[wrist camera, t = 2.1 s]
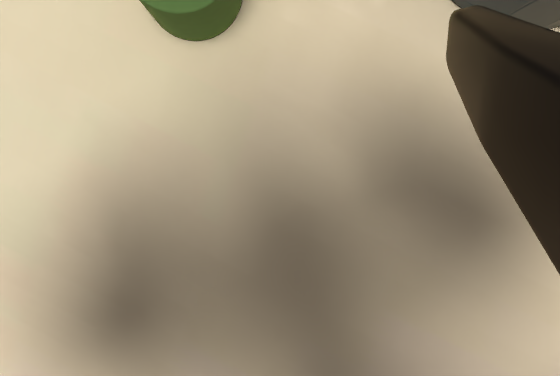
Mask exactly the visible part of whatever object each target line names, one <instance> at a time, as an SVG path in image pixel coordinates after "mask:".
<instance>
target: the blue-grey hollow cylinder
mask: <svg viewBox="0 0 560 376" xmlns="http://www.w3.org/2000/svg"><path fill="white" fill-rule="evenodd" d="M453 1H454V2H455V3H456V4H457V5H458V6H460V7H461V8H466V7H470V6H474V5H481V6H484V7H487V8H490V9H492V10H495V11H498V12H501V13H504V14H507V15H510V16H513V17H515V18H518V19H521V20H524V21H527V22H530V23H533V24H536V25H538V26H541V27H544V28H547V29H550V28H555V27H560V0H453Z"/></svg>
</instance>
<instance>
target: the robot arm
mask: <svg viewBox="0 0 560 376" xmlns="http://www.w3.org/2000/svg"><path fill="white" fill-rule="evenodd" d="M446 60H447V65H448V69H449V71H450V74H451V76H452V78H453V81H454V83H455V85H456V87H457V90H458V92H459V94H460V97H461V99H462V101H463V104H464V106H465V108H466V110H467V113H468V115H469V117H470V120H471V122H472V124H473V127H474V129H475V131H476V133H477V135H478V137H479V140H480V142H481V144H482V145H483V147H484V149H485V151H486V152H487V154H488V156H489V158H490V159H491V161H492V163H493V164H494V166H495V168H496V169H497V171H498V173H499V174H500V176H501V178H502V179H503V181H504V183H505V184H506V186H507V188H508V189H509V191H510V193H511V194H512V196H513V198H514V199H515V201H516V203H517V204H518V206H519V208H520V209H521V211H522V213H523V214H524V216H525V218H526V219H527V221H528V223H529V224H530V226H531V228H532V229H533V231H534V233H535V234H536V236H537V238H538V239H539V241H540V243H541V244H542V246H543V248H544V249H545V251H546V253H547V254H548V256H549V258H550V259H551V261H552V263H553V264H554V266H555V268H556V269H557V271H558V273H559V274H560V33H559V32H556V31H553V30H550V29H547V28H544V27H541V26H538V25H536V24H533V23H530V22H527V21H524V20H521V19H518V18H515V17H513V16H510V15H507V14H504V13H501V12H498V11H495V10H492V9H490V8H487V7H484V6H481V5H474V6H470V7H466V8H463V9H459V10H456V11H454V12H453V13H452V14H451V17H450V20H449V30H448V41H447V52H446Z"/></svg>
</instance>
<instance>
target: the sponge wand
mask: <svg viewBox="0 0 560 376" xmlns="http://www.w3.org/2000/svg"><path fill="white" fill-rule="evenodd" d="M140 1H141V3H142V4H143V5H144V6H145V7H146V9H147V10H148V11H149V12H150V14H151V15H152V16H153V17H154V18H155V20H156V21H157V22H158V23H159V24H160V26H161V27H162V28H164V29H165V30H166V31H167V32H169V33H170V34H172V35H174V36H176V37H178V38H181V39H185V40H191V41H200V40H206V39H210V38H213V37H215V36H217V35H219V34H220V33H222V32H223V31H225V30H226V29H227V28H228V27H229V26H230V25H231V24H232V23H233V21H234V20H235V18H236V16H237V14H238V12H239V10H240V7H241V3H242V0H140Z"/></svg>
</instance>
